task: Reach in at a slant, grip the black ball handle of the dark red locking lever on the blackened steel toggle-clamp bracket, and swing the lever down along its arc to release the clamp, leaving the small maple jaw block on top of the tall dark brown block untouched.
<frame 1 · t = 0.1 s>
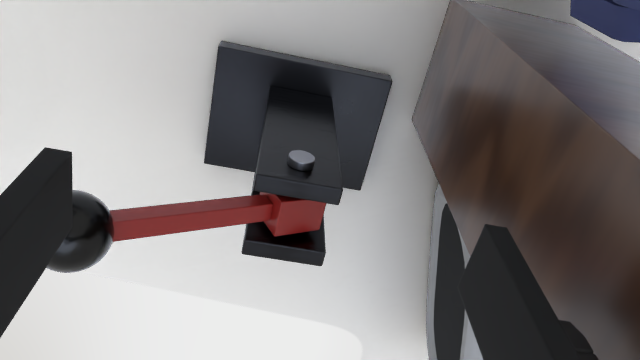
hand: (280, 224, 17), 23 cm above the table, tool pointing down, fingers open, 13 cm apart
dark brown block: (490, 74, 38), on the table
toggle clamp: (295, 116, 40), on the table
alarm clock: (480, 249, 46), on the table
clamp lever: (188, 216, 26), point 15 cm above the table, hinge at 28.0°
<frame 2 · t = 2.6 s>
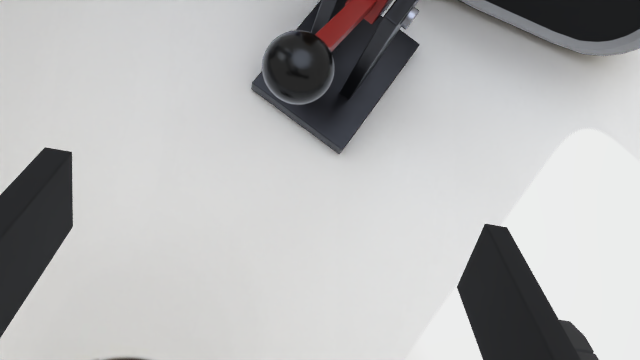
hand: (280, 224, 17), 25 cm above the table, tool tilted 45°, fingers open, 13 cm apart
toggle clamp: (335, 69, 46), on the table
clamp lever: (340, 26, 30), point 15 cm above the table, hinge at 28.0°
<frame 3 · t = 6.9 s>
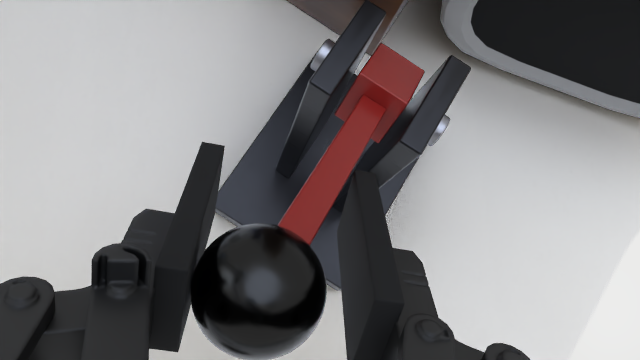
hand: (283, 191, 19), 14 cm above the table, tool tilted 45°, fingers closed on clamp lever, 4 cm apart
toggle clamp: (325, 169, 34), on the table
alarm clock: (554, 41, 39), on the table
clamp lever: (330, 174, 18), point 15 cm above the table, hinge at 27.8°, touching gripper
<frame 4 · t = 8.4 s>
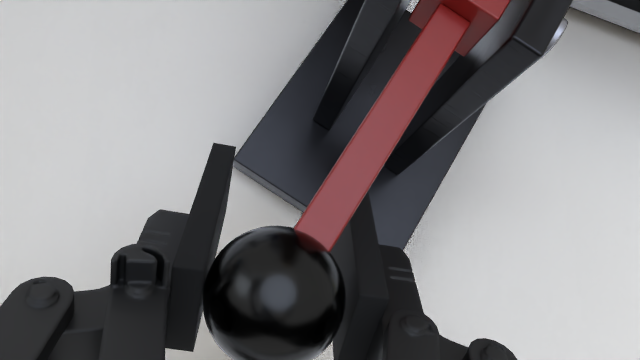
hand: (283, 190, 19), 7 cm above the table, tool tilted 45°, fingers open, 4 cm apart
toggle clamp: (370, 122, 28), on the table
clamp lever: (378, 132, 15), point 12 cm above the table, hinge at -1.9°
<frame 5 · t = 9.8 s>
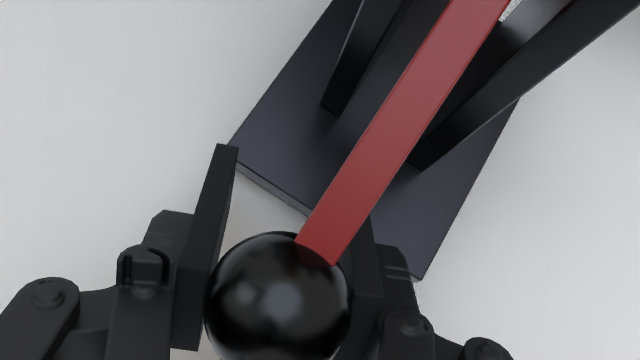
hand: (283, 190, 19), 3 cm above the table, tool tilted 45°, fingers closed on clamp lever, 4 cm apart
toggle clamp: (388, 108, 23), on the table
clamp lever: (399, 120, 13), point 10 cm above the table, hinge at -23.6°, touching gripper
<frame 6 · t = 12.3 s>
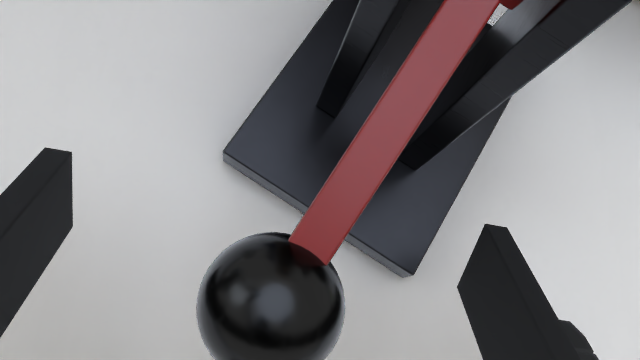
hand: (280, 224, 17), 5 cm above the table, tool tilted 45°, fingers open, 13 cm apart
toggle clamp: (382, 110, 24), on the table
clamp lever: (390, 124, 13), point 10 cm above the table, hinge at -19.4°
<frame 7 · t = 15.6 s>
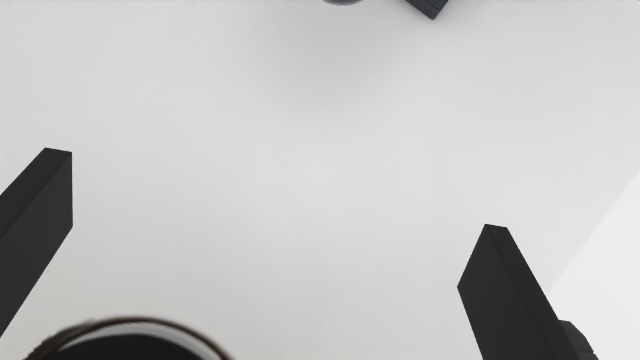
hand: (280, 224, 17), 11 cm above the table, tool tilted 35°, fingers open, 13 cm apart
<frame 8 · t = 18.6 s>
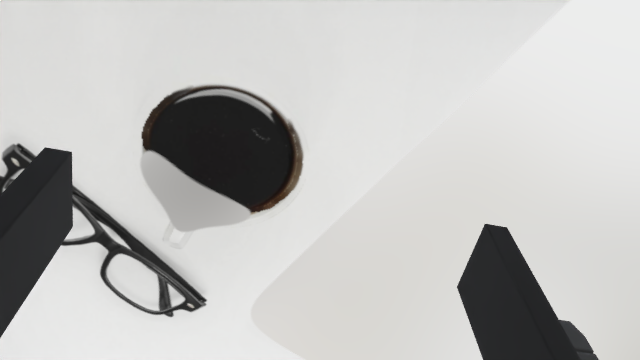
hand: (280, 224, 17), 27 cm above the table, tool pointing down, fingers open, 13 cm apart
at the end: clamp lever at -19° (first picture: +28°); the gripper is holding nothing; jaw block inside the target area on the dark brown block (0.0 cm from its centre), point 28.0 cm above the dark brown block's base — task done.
